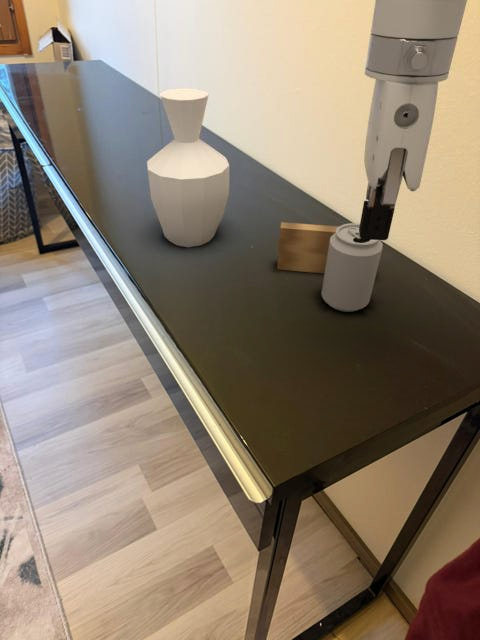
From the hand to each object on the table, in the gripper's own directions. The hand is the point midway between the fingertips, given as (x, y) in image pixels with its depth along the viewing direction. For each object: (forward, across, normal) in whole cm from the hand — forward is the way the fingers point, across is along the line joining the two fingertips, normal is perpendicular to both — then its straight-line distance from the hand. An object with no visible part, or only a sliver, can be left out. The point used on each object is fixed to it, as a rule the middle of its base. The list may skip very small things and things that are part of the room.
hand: (372, 236), depth 53 cm
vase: (+16, +26, +29) cm, 42 cm away
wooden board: (+17, +18, +4) cm, 25 cm away
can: (+17, +10, +1) cm, 20 cm away
